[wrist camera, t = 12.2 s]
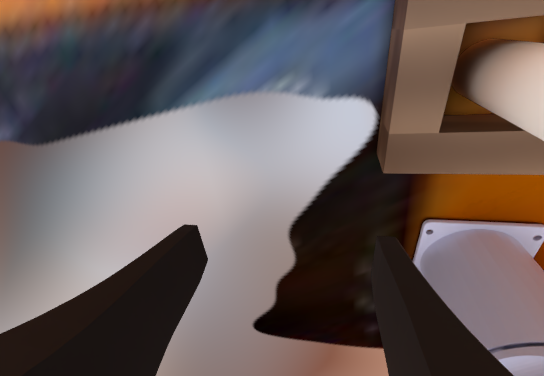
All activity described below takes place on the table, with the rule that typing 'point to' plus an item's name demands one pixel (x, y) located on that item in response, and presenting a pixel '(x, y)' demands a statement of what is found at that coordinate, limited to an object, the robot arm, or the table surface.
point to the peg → (505, 80)
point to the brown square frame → (446, 96)
